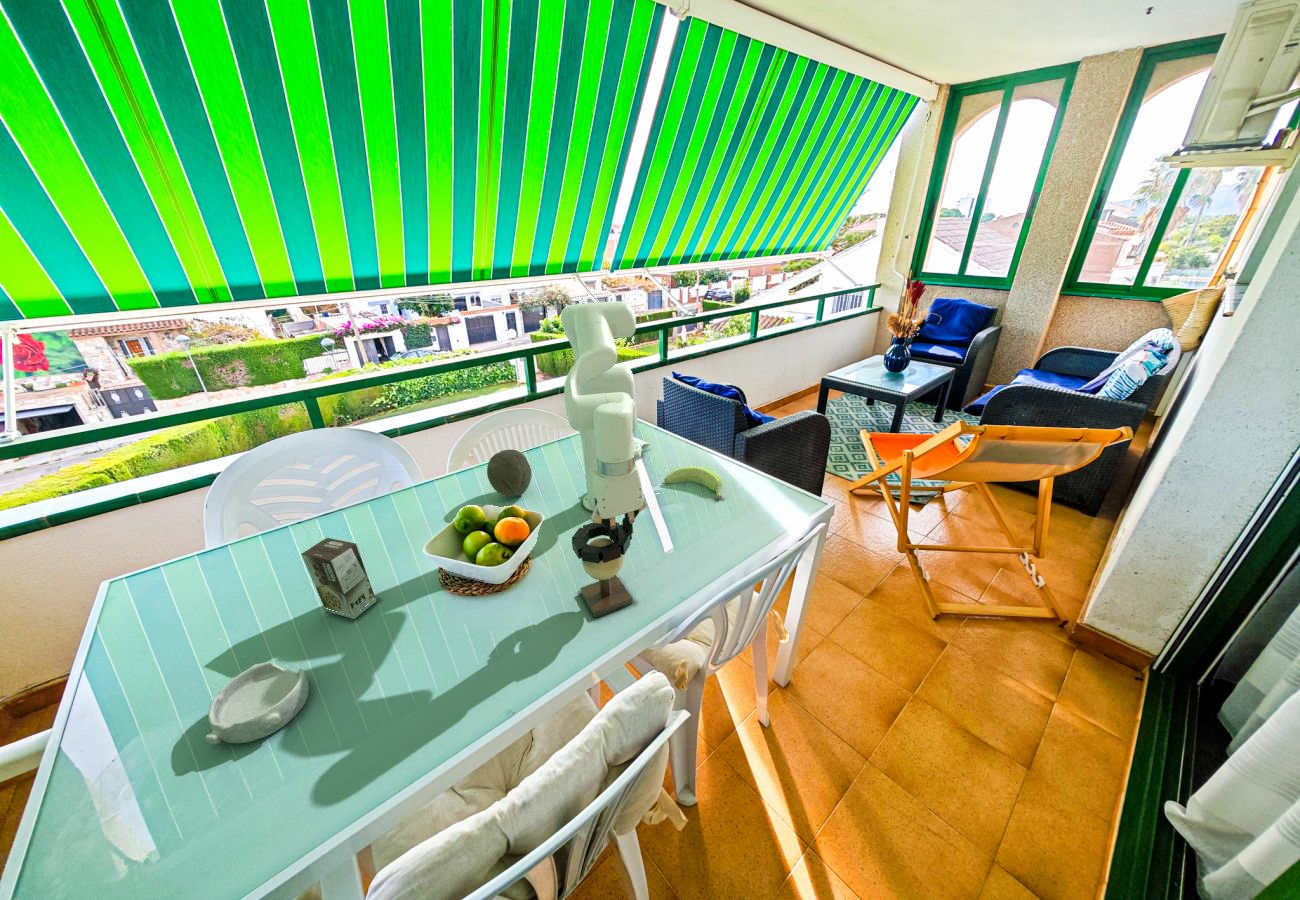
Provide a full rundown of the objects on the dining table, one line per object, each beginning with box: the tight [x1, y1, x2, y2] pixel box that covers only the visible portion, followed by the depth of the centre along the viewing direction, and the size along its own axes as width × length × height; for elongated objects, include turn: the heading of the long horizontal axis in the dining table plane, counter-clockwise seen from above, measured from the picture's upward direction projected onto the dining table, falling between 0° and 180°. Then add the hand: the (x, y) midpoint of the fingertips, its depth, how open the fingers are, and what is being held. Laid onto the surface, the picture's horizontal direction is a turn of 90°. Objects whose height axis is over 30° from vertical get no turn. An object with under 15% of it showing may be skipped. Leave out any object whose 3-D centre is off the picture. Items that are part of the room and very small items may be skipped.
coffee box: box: [300, 537, 377, 620], centre depth 102 cm, size 9×6×16 cm
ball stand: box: [579, 537, 633, 619], centre depth 102 cm, size 9×9×16 cm
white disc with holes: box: [633, 436, 651, 458], centre depth 179 cm, size 3×18×15 cm
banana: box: [663, 465, 723, 500], centre depth 149 cm, size 14×6×20 cm
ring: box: [571, 521, 631, 564], centre depth 98 cm, size 12×12×2 cm
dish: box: [204, 661, 310, 745], centre depth 80 cm, size 14×14×5 cm
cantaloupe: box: [486, 449, 533, 498], centre depth 147 cm, size 14×14×15 cm
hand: (621, 538), depth 101 cm, fingers closed on ring, 2 cm apart
